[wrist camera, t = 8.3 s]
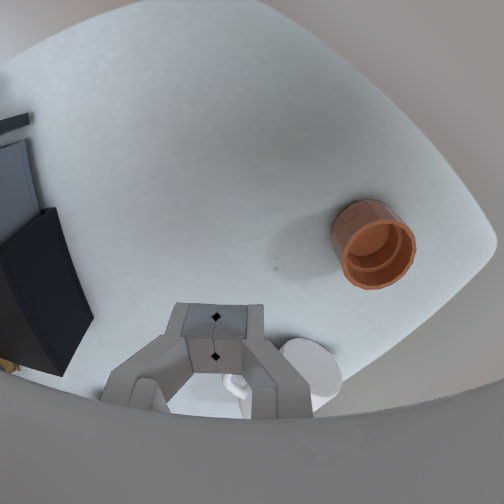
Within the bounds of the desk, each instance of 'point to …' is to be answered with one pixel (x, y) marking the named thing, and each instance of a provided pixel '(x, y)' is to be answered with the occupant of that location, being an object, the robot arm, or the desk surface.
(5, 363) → the mug
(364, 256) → the terracotta cup
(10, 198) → the drawer
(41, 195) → the desk surface
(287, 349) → the mug
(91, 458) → the robot arm
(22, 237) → the black drawer cabinet
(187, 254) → the desk surface
